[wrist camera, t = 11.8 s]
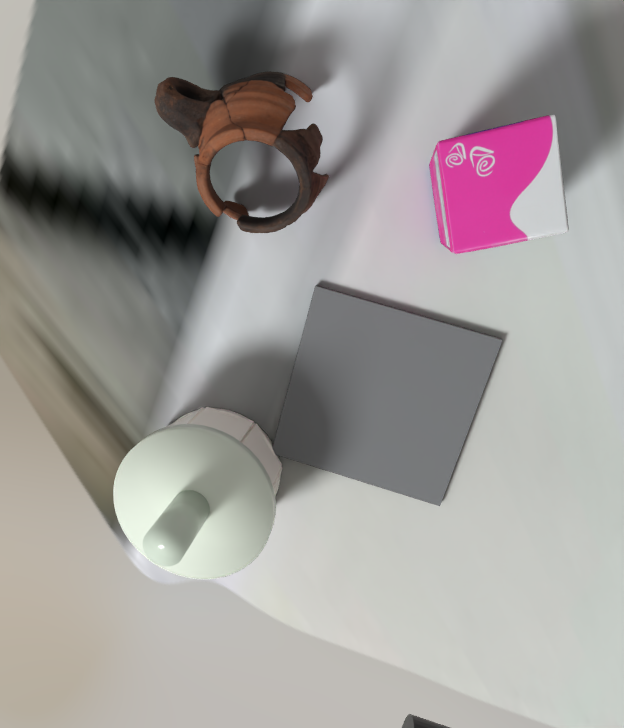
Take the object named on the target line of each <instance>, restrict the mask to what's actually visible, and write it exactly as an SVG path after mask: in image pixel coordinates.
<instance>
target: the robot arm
mask: <svg viewBox="0 0 624 728" xmlns="http://www.w3.org/2000/svg"><path fill="white" fill-rule="evenodd" d="M402 728H449V727H446V726H444V725H441V724H437V723H435V722H432V721H429V720H426V719H423V718H420V717H417V716H414V715H411V714H409V715H408V716H407V717H406V719H405V721H404V724H403V726H402Z"/></svg>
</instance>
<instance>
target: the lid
mask: <svg viewBox="0 0 624 728" xmlns="http://www.w3.org/2000/svg"><path fill="white" fill-rule="evenodd" d="M113 495H114V506H115V511H116V514H117V517H118V521H119V523H120V525H121V527H122V529H123V531H124V533H125V534H126V536H127V538H128V539H129V540H130V542H131V543H132V544H133V546H134V547H135V548H136V549H137V550H138V551H139V552H140V553H141V554H142V555H143V556H145V557H146V558H147V559H148V560H149V561H151V562H152V563H154V564H155V565H157V566H158V567H160V568H162V569H164V570H166V571H168V572H171V573H173V574H176V575H179V576H183V577H187V578H194V579H216V578H221V577H226V576H228V575H231V574H234V573H236V572H238V571H240V570H242V569H244V568H245V567H246V566H248V565H249V564H251V563H252V562H253V561H254V560H255V559H256V558H257V557H258V555H259V554H260V553H261V551H262V550H263V548H264V546H265V544H266V543H267V540H268V538H269V535H270V533H271V530H272V527H273V525H274V520H275V515H276V500H275V493H274V489H273V485H272V483H271V480H270V477H269V475H268V473H267V472H266V470H265V468H264V466H263V465H262V463H261V462H260V461H259V459H258V458H257V457H256V456H255V455H254V453H253V452H252V451H251V450H250V449H249V448H247V447H246V446H245V445H244V444H243V443H242V442H240V441H239V440H237V439H236V438H234V437H233V436H231V435H229V434H227V433H225V432H223V431H220V430H217V429H215V428H212V427H208V426H203V425H196V424H179V425H172V426H168V427H165V428H162V429H159V430H157V431H155V432H153V433H151V434H150V435H148V436H147V437H145V438H144V439H143V440H142V441H140V442H139V443H138V444H137V445H136V446H135V447H134V448H133V449H132V450H130V452H129V453H128V454H127V455H126V456H125V458H124V459H123V461H122V463H121V464H120V466H119V469H118V471H117V474H116V478H115V482H114V491H113Z"/></svg>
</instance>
